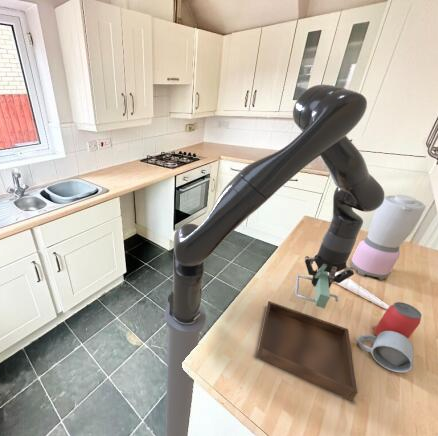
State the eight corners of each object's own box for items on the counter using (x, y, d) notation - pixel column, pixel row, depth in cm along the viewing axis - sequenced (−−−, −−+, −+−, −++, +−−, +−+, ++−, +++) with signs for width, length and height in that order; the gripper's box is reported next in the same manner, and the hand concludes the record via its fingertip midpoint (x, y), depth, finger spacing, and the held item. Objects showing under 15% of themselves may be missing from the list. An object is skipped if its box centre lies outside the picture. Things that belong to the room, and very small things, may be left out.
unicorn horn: (394, 321, 77) (401, 310, 75) (318, 276, 96) (322, 267, 94) (401, 315, 79) (408, 304, 77) (325, 272, 98) (329, 263, 95)
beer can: (385, 326, 76) (404, 298, 70) (409, 345, 70) (431, 317, 64) (367, 329, 75) (385, 302, 69) (390, 349, 69) (411, 321, 63)
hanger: (294, 298, 78) (298, 287, 76) (296, 273, 89) (300, 262, 86) (339, 313, 73) (345, 301, 70) (336, 284, 83) (341, 273, 81)
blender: (392, 284, 91) (439, 208, 76) (352, 274, 96) (388, 201, 81) (380, 260, 104) (418, 191, 88) (345, 253, 109) (376, 186, 93)
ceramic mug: (407, 357, 67) (420, 339, 63) (404, 378, 62) (418, 360, 59) (359, 333, 74) (369, 315, 70) (353, 350, 69) (363, 332, 66)
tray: (256, 356, 68) (258, 348, 66) (266, 308, 83) (268, 300, 81) (351, 400, 58) (357, 392, 56) (343, 336, 73) (348, 329, 71)
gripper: (310, 244, 75) (295, 286, 83) (368, 258, 68) (345, 301, 76) (310, 233, 80) (296, 273, 88) (363, 244, 74) (343, 286, 82)
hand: (319, 286), depth 82 cm, fingers closed on hanger, 2 cm apart
